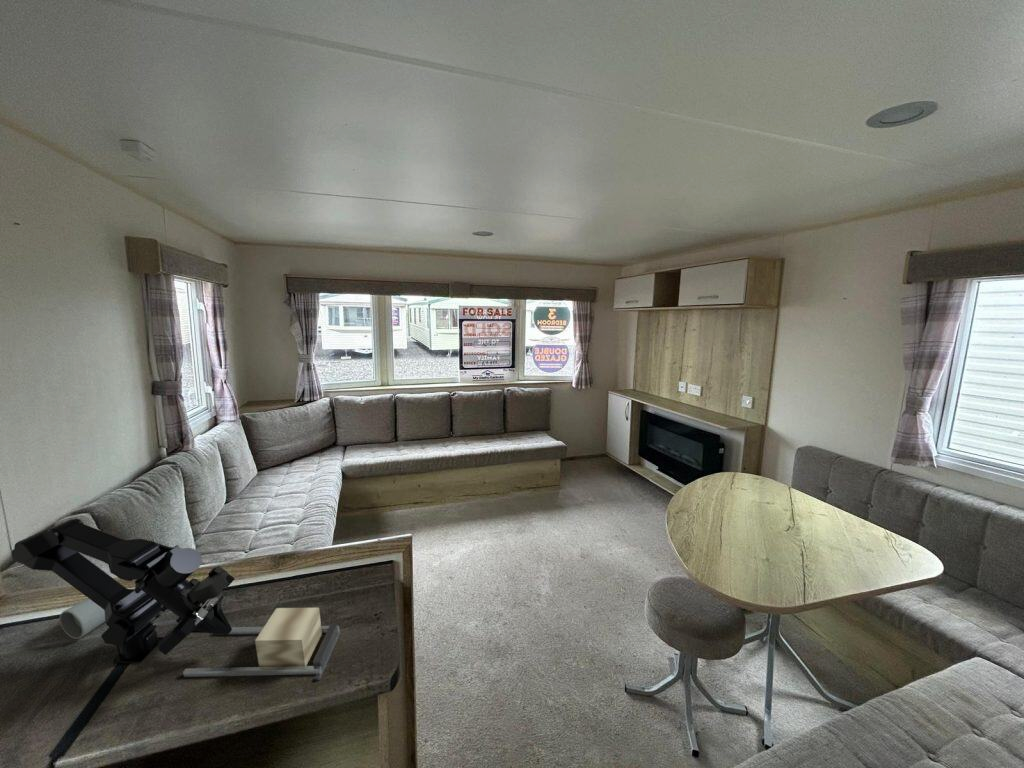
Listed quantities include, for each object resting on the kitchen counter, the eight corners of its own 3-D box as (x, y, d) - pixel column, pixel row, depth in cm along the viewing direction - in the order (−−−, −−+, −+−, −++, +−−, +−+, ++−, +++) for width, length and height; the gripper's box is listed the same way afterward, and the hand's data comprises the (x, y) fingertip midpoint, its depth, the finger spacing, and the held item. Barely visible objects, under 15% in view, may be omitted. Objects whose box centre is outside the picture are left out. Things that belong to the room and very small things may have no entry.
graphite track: (183, 683, 87) (180, 668, 86) (221, 634, 99) (218, 621, 98) (319, 680, 89) (318, 665, 88) (340, 632, 101) (339, 619, 100)
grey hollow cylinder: (124, 615, 104) (117, 590, 102) (85, 642, 96) (77, 615, 94) (93, 608, 106) (86, 583, 104) (53, 633, 98) (44, 607, 96)
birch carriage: (259, 669, 89) (254, 640, 87) (280, 635, 98) (276, 608, 96) (305, 668, 90) (301, 639, 88) (321, 634, 99) (319, 607, 97)
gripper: (169, 596, 79) (232, 642, 83) (223, 542, 97) (274, 582, 101) (128, 632, 79) (193, 677, 83) (190, 572, 98) (241, 611, 101)
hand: (229, 632), depth 92 cm, fingers closed
